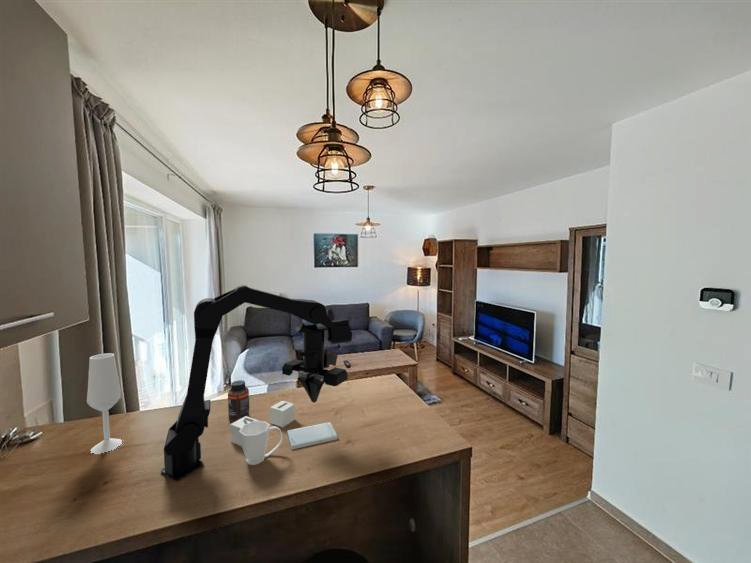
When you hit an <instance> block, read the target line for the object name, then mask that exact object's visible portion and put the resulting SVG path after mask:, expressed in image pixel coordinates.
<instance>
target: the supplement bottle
mask: <svg viewBox="0 0 751 563" xmlns="http://www.w3.org/2000/svg"><path fill="white" fill-rule="evenodd" d="M227 406H228V407H227V408H228V409H227V411H228V421H229V422H231V423H234V422H236V421H238V420H239V419H241V418H243V417H245V416H247V417H250V416H251V414H250V413H251V412H250V390H249V388H248V387H247V386H246V381H245V380H244V379H242V380H241V379H239V380H235V381H232V382H231V383H230V389H229V390H228V391H227Z"/></svg>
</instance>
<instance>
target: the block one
mask: <svg viewBox="0 0 751 563" xmlns="http://www.w3.org/2000/svg"><path fill="white" fill-rule="evenodd" d="M295 408H296V407H295V403H292V402H289V401H285V400H281V401H278V402H277V403H275V404H274V405H272V406H270V408H269V412H270V414H269V418H270V420H269V421H270V423H269V424H270V425H271V424H272V425H273V426H274V425H275V426H276V427H280V428H284V427H286V426H288V425H289V424H291V423H292V422H293V421H295V420H296V417H295V416H296V414H295V410H296V409H295Z"/></svg>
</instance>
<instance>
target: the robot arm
mask: <svg viewBox="0 0 751 563" xmlns="http://www.w3.org/2000/svg"><path fill="white" fill-rule="evenodd" d="M245 303H246V304H250V305H254V306H259V307H262V308H266V309H271V310H275V311H279V312H283V313H286V314H291V315H293V316H295V317H297V318H299V319H301V320H303V321H306V322H307V323H310V324H305V323H304V322H302V321H301V322H300V323H299V325H298V326H297V327H295V331H296V332H297V333H299V334H302V339H303V340H302V350H301V351H299V356H302V357H303V359H302V360H301V359H293V360H290V361H287V362H286V363H285V362H284V363H283V365H282V367H281V368H282V369H281V371H282V372H281V373H282V375H285V376H291V375H292V374H293V373H294V372H298V373H299V375H298V378H297V381H299V383H300V384H301V385H302V387H303V389H304V390H305V392H306V394H307V395H308V397H309V399H310V401H311V402H312V403H317V401H318V398H319V395H320V393H321V389H322V387H323V386H324V384H325V385H326V386H331V387H337V386H339V385H341V384H342V383H344V382H346V381H347V380H348V375H349V374H348V373H349V372H348V371H347V370H346V369H345V368H339V367H336V366H337V360H338V356H339V355H337V354H334V353H333V354H332V353H329V351H328V348H326V347H325V342H326V343H327V342H328V344H329V345H331V346H332V345H342V344H347V343H350V342H352V339H353V331H352V328H351V325H350V320H349V319H347V318H340V319H335V320H332V319H331V318H330V317H329V316H328V314H327V308H326V306H325V305H324V304H323V303H320V302H318V301H316V300H313V299H305V298H304V299H303V298H302V299H301V298H289V297H286V296H282V295H278V294H275V293H270V292H267V291H263V290H260V289H255V288H252V287H250V286H247V285H244V284H241V285H238V286H236V288H233V289H231V290H229V291H227V292H224V293H222V294H220V295H218V296H216V297H214V298H211V297H206V298H203V299H201V300H200V301H198V302H197V304H196V305H195V308H194V312H193V321H194V322H193V323H194V325H193V326H194V338H195V340H194V346H193V347H194V348H193V353H192V358H191V359H192V360H191V365H190V370H189V371H190V372H189V373H190V374H189V378H188V384H187V390H186V396H185V398H184V401H183V402H182V406H181V408H180V411H179V412H178V417H177V419H176V421H175V422H174V423H173V424H172V425H171V426H170V427H169V428H168V431H167V435H166V439H165V442H164V445H163V446H164V447H163V459H164V460H163V461H164V467H163V468H161V469H160V473H161V474H163V475H165V476H166V477H168V478H170V479H172V480H174V482H177V481H180V480H181V479H183V478H185V477H186V476H188V475H189V474H191V473H193V472H194V471H196V470H197V469H199V468H201V467H203V466H204V461H202V460H201V459H202V450H201V449H202V446H201V442H200V439H199V437H201V436H202V435H203V433H204V431H205V428H208V427H209V416H210V413H211V399H206V400H205V391H206V386H207V385H206V384H207V380H208V372H209V366H210V361H211V355H212V354H211V353H212V349H213V348H212V347H213V341H214V338H215V336H216V334H217V331H218V329H219V325H220V324H221V320H222V317H223V316H226V315H227V314H228V313H230V312H232V311H233V310H236V309H237V308H238V307H240V306H241V305H243V304H245ZM319 324H320V325H321V326H318V325H319ZM330 366H333V368H331V369H328V368H330Z"/></svg>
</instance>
